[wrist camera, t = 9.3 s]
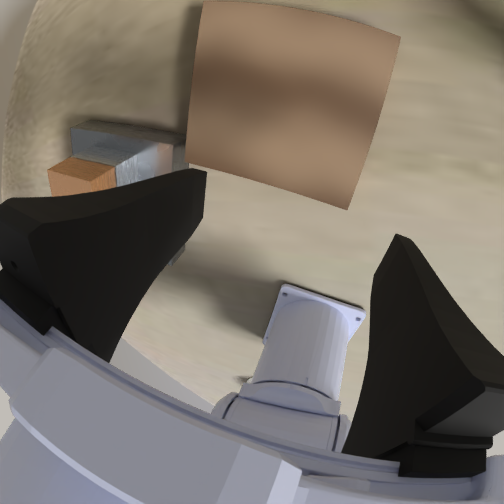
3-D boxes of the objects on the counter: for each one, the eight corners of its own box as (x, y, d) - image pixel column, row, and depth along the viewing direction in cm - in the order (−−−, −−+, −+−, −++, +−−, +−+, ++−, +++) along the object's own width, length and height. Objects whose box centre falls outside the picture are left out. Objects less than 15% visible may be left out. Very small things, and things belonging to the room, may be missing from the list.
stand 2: (348, 193, 19) (347, 210, 17) (201, 150, 21) (184, 161, 19) (394, 41, 12) (400, 37, 10) (221, 6, 14) (203, 1, 12)
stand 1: (185, 249, 27) (171, 265, 25) (99, 217, 29) (84, 229, 27) (190, 135, 20) (172, 145, 18) (90, 120, 22) (70, 128, 20)
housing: (142, 239, 25) (108, 274, 21) (102, 224, 26) (67, 254, 22) (137, 154, 20) (90, 181, 16) (92, 145, 20) (47, 169, 17)
